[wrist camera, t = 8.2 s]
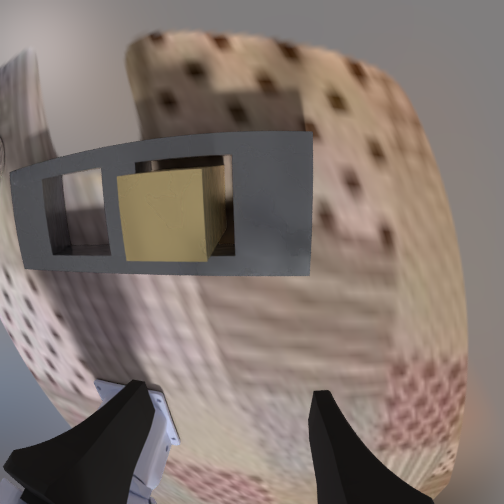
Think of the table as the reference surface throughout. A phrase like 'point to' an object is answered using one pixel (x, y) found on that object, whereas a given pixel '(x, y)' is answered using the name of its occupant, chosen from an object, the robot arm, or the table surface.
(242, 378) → the table surface
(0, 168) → the beer glass
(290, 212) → the rail
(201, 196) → the block
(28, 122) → the table surface
